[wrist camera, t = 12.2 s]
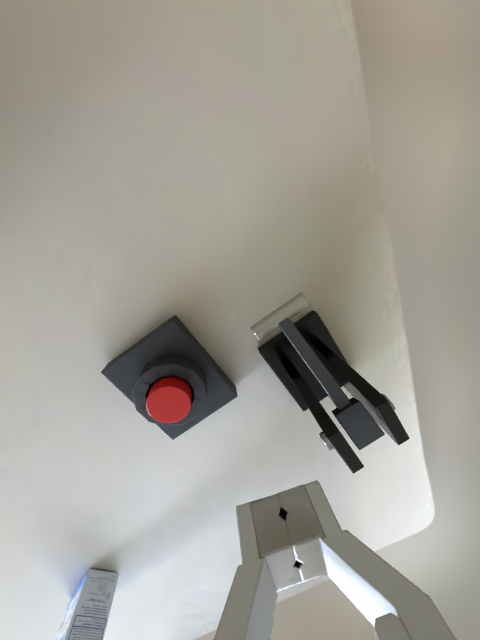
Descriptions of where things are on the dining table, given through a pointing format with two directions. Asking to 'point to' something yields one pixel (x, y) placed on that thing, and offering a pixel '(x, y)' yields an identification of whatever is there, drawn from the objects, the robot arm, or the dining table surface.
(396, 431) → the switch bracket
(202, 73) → the dining table surface
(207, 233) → the dining table surface
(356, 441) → the switch lever
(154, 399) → the button
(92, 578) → the medicine box
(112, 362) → the control block
